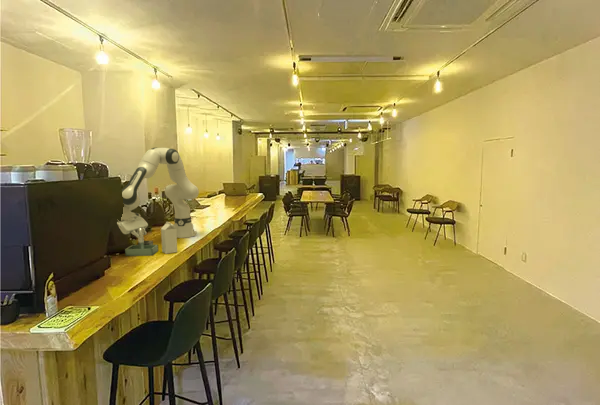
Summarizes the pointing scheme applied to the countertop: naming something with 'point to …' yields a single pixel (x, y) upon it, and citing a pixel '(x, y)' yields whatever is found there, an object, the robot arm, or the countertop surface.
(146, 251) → the tray
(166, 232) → the milk carton
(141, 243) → the lock pin
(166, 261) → the countertop surface
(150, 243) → the socket block
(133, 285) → the countertop surface
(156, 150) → the robot arm
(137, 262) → the countertop surface
